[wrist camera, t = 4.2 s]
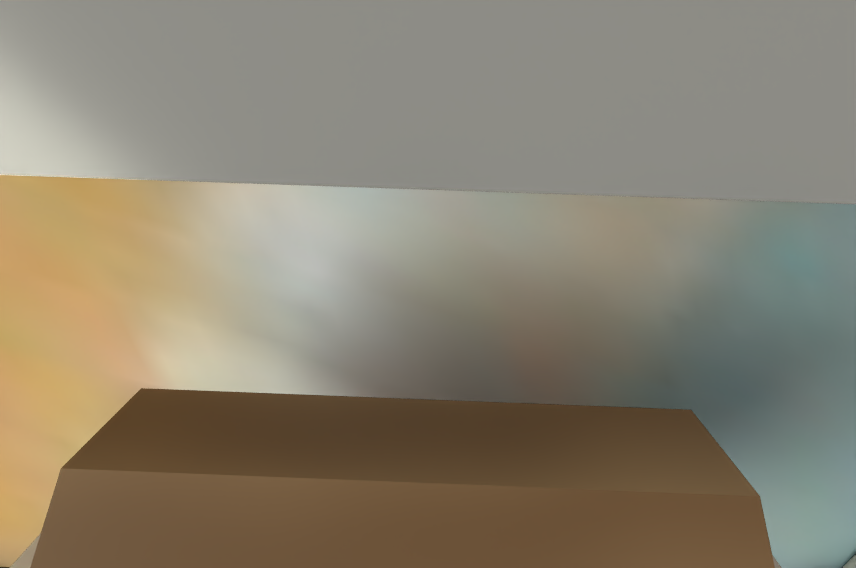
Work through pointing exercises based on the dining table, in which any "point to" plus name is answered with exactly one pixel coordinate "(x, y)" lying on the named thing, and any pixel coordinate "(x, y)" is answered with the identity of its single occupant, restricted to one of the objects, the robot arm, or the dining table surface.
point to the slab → (439, 94)
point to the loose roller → (398, 487)
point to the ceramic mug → (851, 563)
